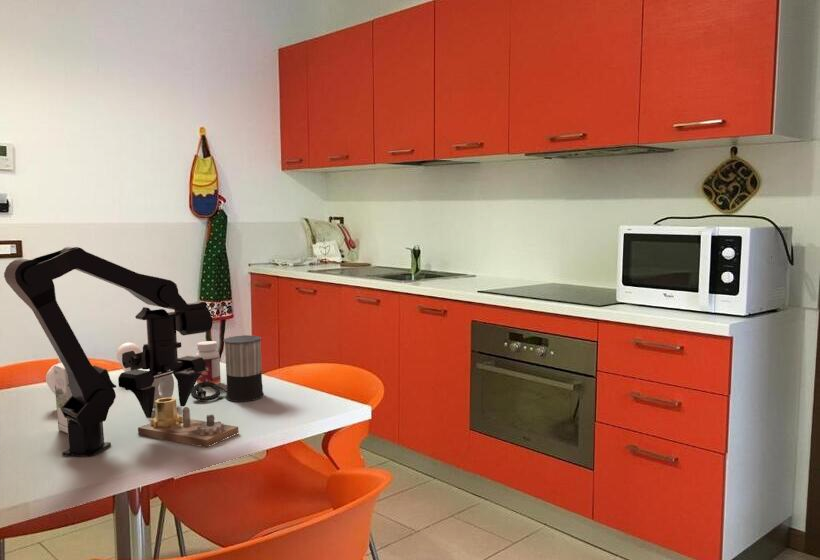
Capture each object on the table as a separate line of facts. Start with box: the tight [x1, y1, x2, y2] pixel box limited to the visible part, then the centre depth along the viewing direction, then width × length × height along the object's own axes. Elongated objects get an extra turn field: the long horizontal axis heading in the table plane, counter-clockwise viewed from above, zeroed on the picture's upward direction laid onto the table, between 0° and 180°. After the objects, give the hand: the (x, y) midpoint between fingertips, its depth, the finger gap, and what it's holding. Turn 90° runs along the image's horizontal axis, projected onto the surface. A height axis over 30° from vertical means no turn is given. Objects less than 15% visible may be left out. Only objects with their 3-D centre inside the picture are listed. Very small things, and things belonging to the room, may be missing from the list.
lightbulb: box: [115, 341, 142, 372], centre depth 187 cm, size 6×6×11 cm
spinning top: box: [45, 357, 62, 396], centre depth 164 cm, size 8×8×12 cm
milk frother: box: [190, 334, 265, 403], centre depth 168 cm, size 14×16×15 cm
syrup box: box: [52, 363, 72, 435], centre depth 145 cm, size 6×6×14 cm
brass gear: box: [150, 397, 183, 428], centre depth 144 cm, size 6×6×5 cm
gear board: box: [137, 406, 240, 448], centre depth 141 cm, size 19×9×6 cm, turn 63°
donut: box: [152, 370, 175, 410], centre depth 161 cm, size 10×4×10 cm, turn 168°
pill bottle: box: [195, 340, 222, 386], centre depth 183 cm, size 6×6×11 cm
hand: (166, 411), depth 144 cm, fingers open, 9 cm apart
